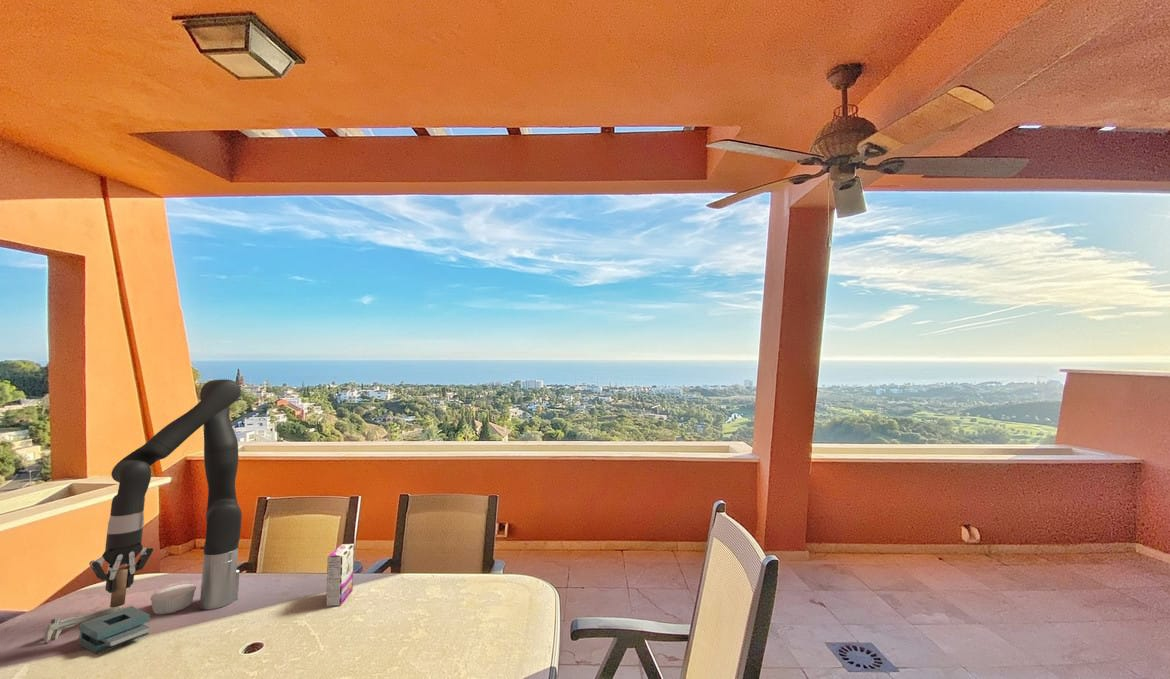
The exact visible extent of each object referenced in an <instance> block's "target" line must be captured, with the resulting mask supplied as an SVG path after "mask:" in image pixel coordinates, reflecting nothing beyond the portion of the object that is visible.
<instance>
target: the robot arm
mask: <svg viewBox="0 0 1170 679" xmlns="http://www.w3.org/2000/svg"><path fill="white" fill-rule="evenodd" d="M238 383H239V382H236V381H234V380H232V379H225V378H224V379H213V380H209V381H207V382H205V383H204V384H203V386H202V388H201V389H200V393H199V397H200V398H199V400H200V401H199V402H198V403H197V404H196V405H194V407H192V408H191V409H190V410H188V411H187V412H185V413H184V414H182V415H180V416H179V417H178V418H176V419H174V420H173V421H171V422H170V423H168V424H167V425H165V426H164V427H163V428H162V429H160V430H159V431H158V432H157V433H155V434H154V435H153V436H151V438H150V439H149V440H147V442H145V443H144V444H143V445H142V446H140V447H139V448H137V449H135V450H134V451H132V452H131V453H129V454H128V455H126V456H125V457H123V458H122V459H121V460H120V461H118V462H117V463H116V464H115V465H114V467H113V468H112V470H111V474H110V475H111V478H112V479H113V480H114V481H115V482H116V483H118V484H119V485H118V490H117V493H116V495H114V496H113V498H112V500H111V506H110V515H109V519H108V522H107V529H106V539H105V540H106V541H105V549H104V552H103V553H102V555H101V556H100V557H99V558H97V559H95V560H91V561H90V562H89V566H90V568H91V570H92V571H93V572H94V574H95V576H96V577H97V579H99V580H101V581H104V580H105V581H106V582H105V591H106V592H108V593H110V594H111V593H112V592H114V590H115V581H116V579H114V578H115V575H116V572H117V571H118V569H119V568H120V566H122V565H124V567H129V569H128V578H127V587H126V589H129V588H131V586H132V585H133V584H134V579H135V573H136V572H137V571H139V570H142V569H144V567H145V565H146V564H147V561H148V560H149V559H150V557H151V555H152V554H153V552H154V548H152V547H150V546H146V547H145V546H144V545H143V544H142V542H143V541H142V540H143V534H144V533H143V530H144V525H145V512H144V510H145V502H146V494H147V492H148V489H149V485H150V482H151V479H152V467H151V466H153V465H154V464H155V463H156V462H158V461H160V460H164V459H166V458H167V457H168V456H170V455H171V454H172V453H173V452H175V450H176V449H178V448H179V447H180V446H181V445H182V444H183V443H184V442H185V441H186V440H187V439H189V437H191V435H193V434H194V433H195V432H196V431H198V430H199V429H200V428H201V427H202V426H203V458H204V461H203V463H204V464H203V465H204V472H205V477H206V483H207V488H208V489H207V490H208V492H207V493H208V494H207V506H206V514H205V522H206V529H205V531H206V532H205V541H204V546H203V558H202V571H201V572H202V573H201V587H200V598H199V608H200V609H201V610H215V609H218V608H223V607H225V606H228V605H229V604H232V603H233V602H234V601H235V600H238V599H239V585H240V572H241V571H240V569H238V561H239V560H238V559H239V543H240V539H241V529H242V518H243V515H242V513H243V512H242V509H241V508H240V506H239V503H238V499H237V494H236V479H237V473H238V469H239V468H238V466H239V443H238V438H237V435H236V433H235V430H234V428H233V426H232V423H231V422H232V421H231V418H230V406H231V405H233V404H234V403H236V402H237V401H238V400H239V398H240V397H241V393H242V388H241V386H240V384H238ZM139 554H140V556H139V558H138V559H137V562H136V557H137V556H138V555H139ZM104 561H105V562H106V563H107V564H108V565H107V572H106V573H105V571H104V569H103V568H102V566H103V565H104Z"/></svg>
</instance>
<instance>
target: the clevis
mask: <svg viewBox="0 0 1170 679" xmlns="http://www.w3.org/2000/svg"><path fill="white" fill-rule="evenodd" d="M150 616H151V615H150V613H147V612H146V611H143V610H141V609H140V608H139V609H138V608H137V607H135V606H132V605H130V606H128V607H125V608H121V609H118V610H117V611H115V612H112V613H109V614H106V615H102V616H99V617H95V618H92V619H89V620H86V621H82V622H80V624H79V625H80V626H79V636H78V644H79V645H80V646H82V647H84V648H85V649H86V650H88V651H90V652H91V653H93V654H95V655H97V654H100V653H103V652H105V651H108V650H110V649H114V648H115V647H118V646H119V647H120V645H123V644H126V643H129V642H131V641H133V640H136V639H139V638H141V637H144V636H146V635H149V632H150V627H149V626H148V625H146V624H147V623H150V618H151V617H150Z"/></svg>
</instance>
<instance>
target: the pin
mask: <svg viewBox="0 0 1170 679" xmlns="http://www.w3.org/2000/svg"><path fill="white" fill-rule="evenodd" d="M128 569H129V567H126V566H124V567H119V569H118V571H117V572H116V575H115V578H114V579H116V581H115V590H114V592H112V593H110V594H111V596H110V603H109V608H111V607H118V606H119V607H122V606H123V605H125V603H126V594H127V588H126V587H127V578H128Z"/></svg>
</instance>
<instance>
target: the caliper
mask: <svg viewBox="0 0 1170 679" xmlns="http://www.w3.org/2000/svg"><path fill="white" fill-rule="evenodd" d="M121 609H123V607H122V606H118V607H108V608H105V609H100V610H97V611H94V612H93V611H92V612H90V613H88V614H83V615H80V616H71V617H68V618H64V619H61V617H56V618H52V619H51V620H50V623H48V624H47V626H46V629H45V630H44V637H43V638H44V639H43V643H44V644H49V643H50V641H56V640H57V639H58V637H59V636H60V634H61V632H62V631H63V629H71V628H74V627H75V626H76V624H78V623H83V622H86V621H89V620H92V619H95V618H98V617H101V616H104V615H107V614H110V613H113V612H114V611H115V612H116V610H117V611H119V610H121ZM60 619H61V620H60ZM55 639H56V640H55Z"/></svg>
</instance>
